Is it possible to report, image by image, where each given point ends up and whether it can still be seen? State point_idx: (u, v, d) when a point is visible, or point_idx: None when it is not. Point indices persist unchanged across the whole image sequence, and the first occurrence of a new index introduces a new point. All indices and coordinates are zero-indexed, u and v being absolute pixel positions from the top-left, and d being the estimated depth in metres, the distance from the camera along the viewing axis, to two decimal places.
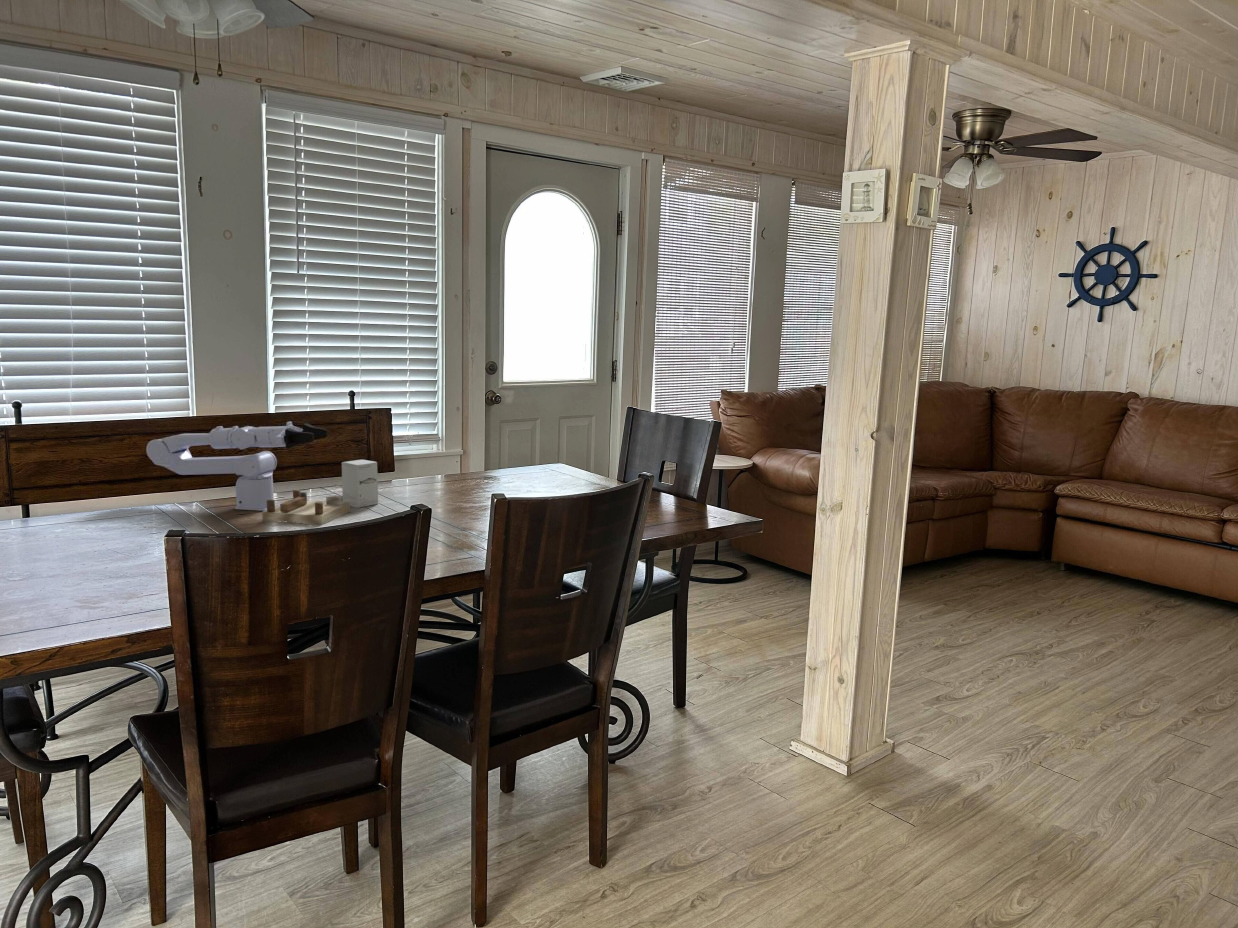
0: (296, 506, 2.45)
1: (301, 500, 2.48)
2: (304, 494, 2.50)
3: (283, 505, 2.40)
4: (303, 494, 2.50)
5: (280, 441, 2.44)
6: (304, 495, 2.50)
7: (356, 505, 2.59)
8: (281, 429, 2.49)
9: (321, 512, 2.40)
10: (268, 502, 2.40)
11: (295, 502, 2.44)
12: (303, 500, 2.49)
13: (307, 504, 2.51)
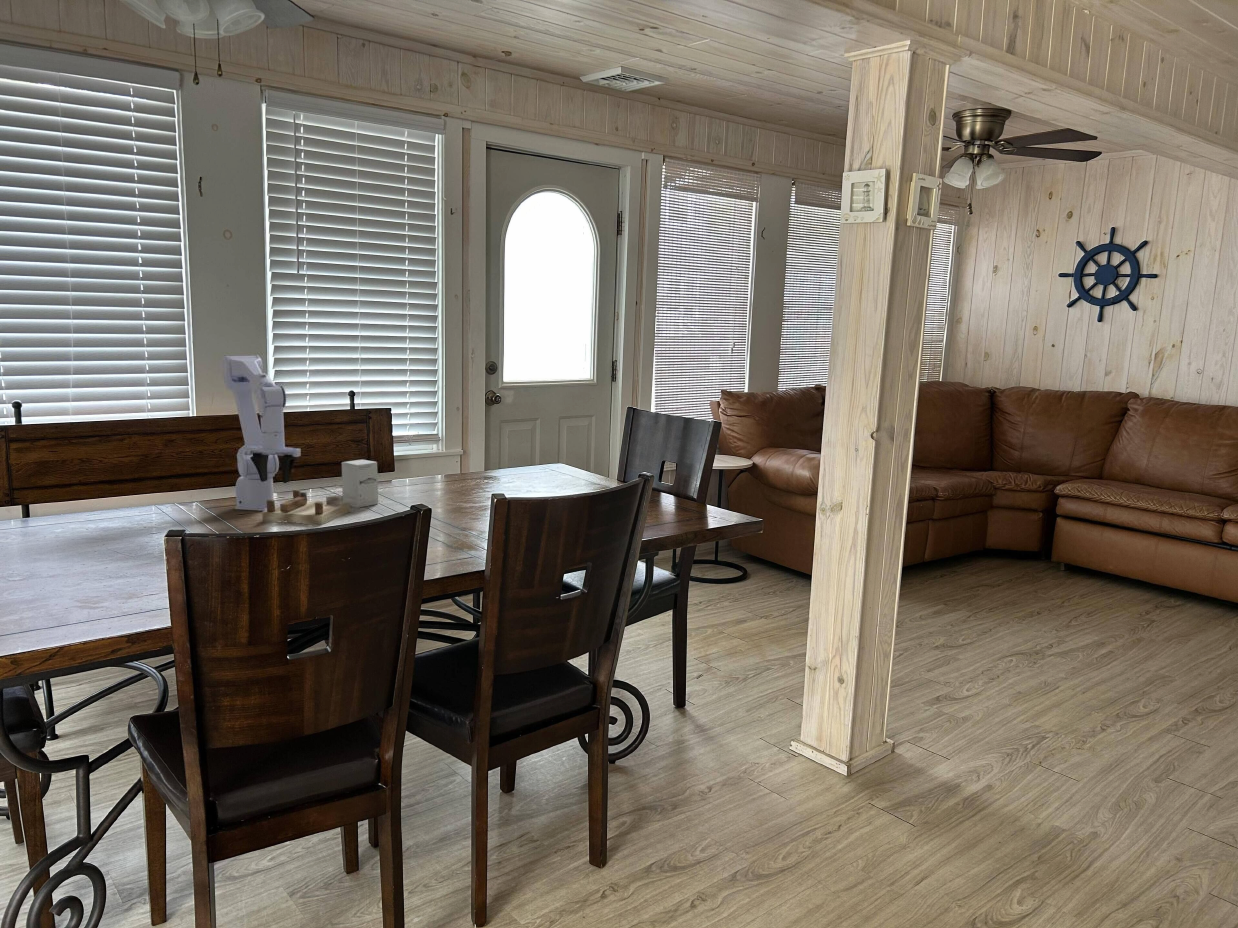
0: (296, 506, 2.45)
1: (301, 500, 2.48)
2: (304, 494, 2.50)
3: (283, 505, 2.40)
4: (303, 494, 2.50)
5: None
6: (304, 495, 2.50)
7: (356, 505, 2.59)
8: (262, 444, 2.40)
9: (321, 512, 2.40)
10: (268, 502, 2.40)
11: (295, 502, 2.44)
12: (303, 500, 2.49)
13: (307, 504, 2.51)
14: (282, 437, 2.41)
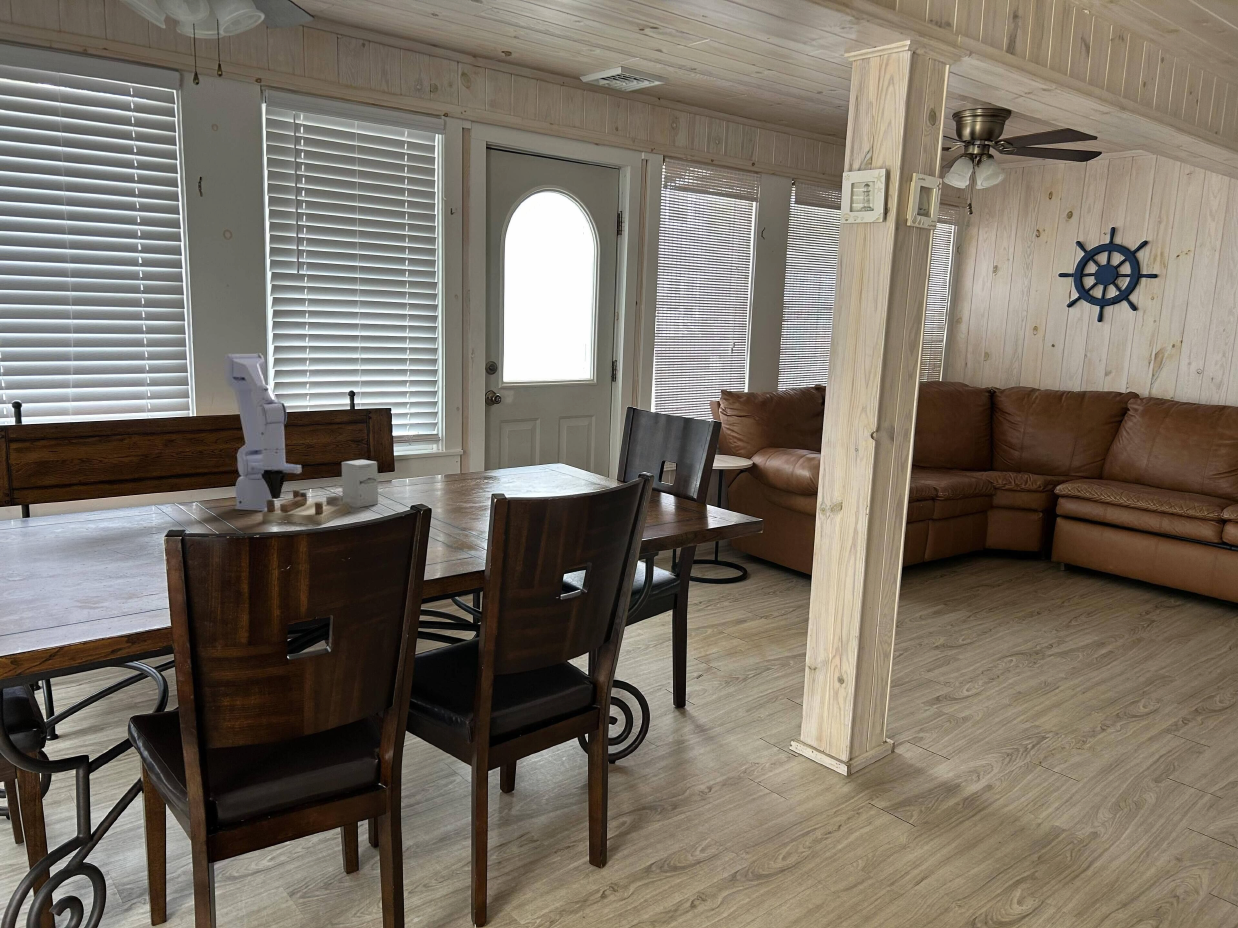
0: (296, 506, 2.45)
1: (301, 500, 2.48)
2: (304, 494, 2.50)
3: (283, 505, 2.40)
4: (303, 494, 2.50)
5: None
6: (304, 495, 2.50)
7: (356, 505, 2.59)
8: (263, 461, 2.41)
9: (321, 512, 2.40)
10: (268, 502, 2.40)
11: (295, 502, 2.44)
12: (303, 500, 2.49)
13: (307, 504, 2.51)
14: (283, 454, 2.42)
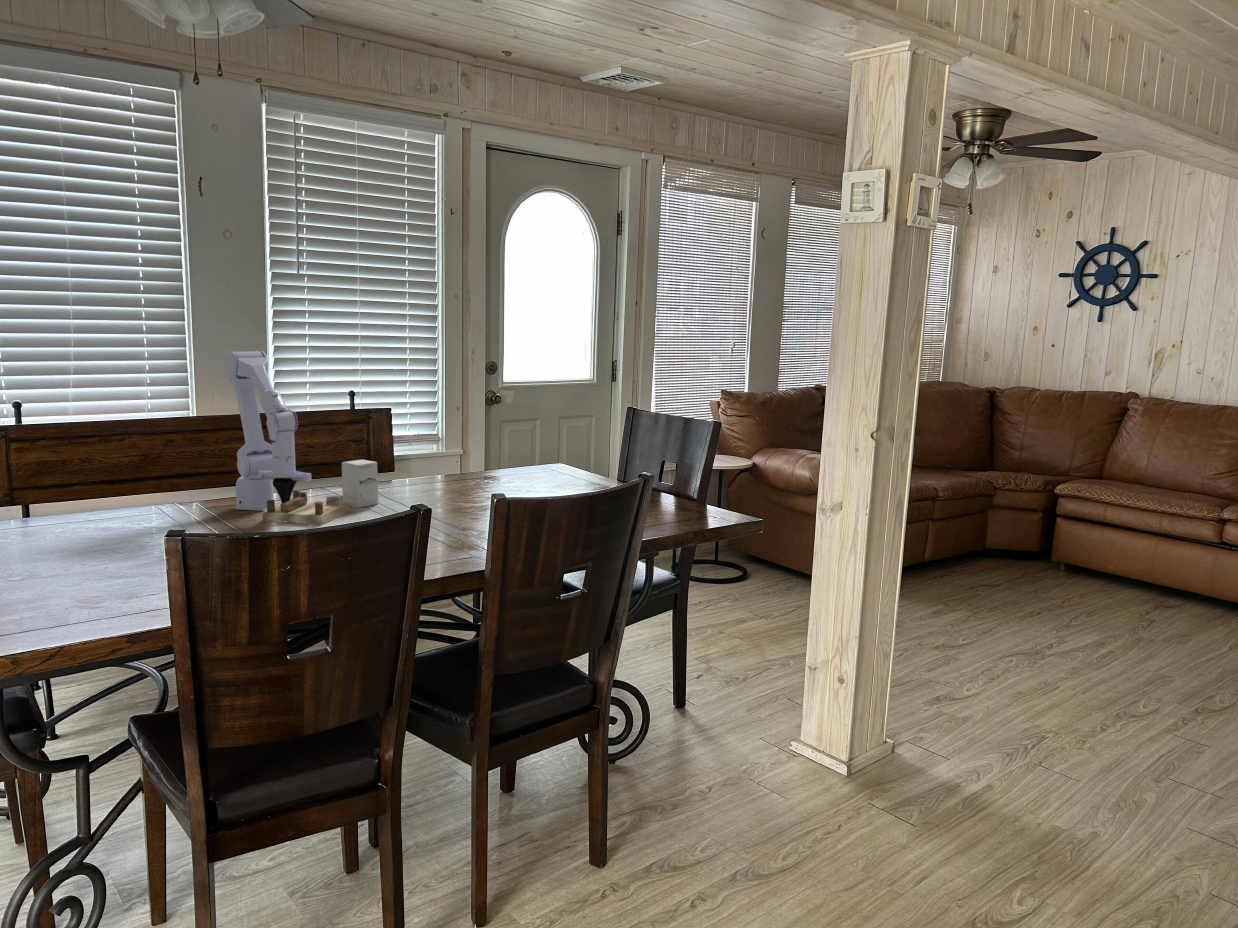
0: (296, 506, 2.45)
1: (301, 500, 2.48)
2: (304, 494, 2.50)
3: (283, 505, 2.40)
4: (303, 494, 2.50)
5: None
6: (304, 495, 2.50)
7: (356, 505, 2.59)
8: (273, 469, 2.41)
9: (321, 512, 2.40)
10: (268, 502, 2.40)
11: (295, 502, 2.44)
12: (303, 500, 2.49)
13: (307, 504, 2.51)
14: (293, 462, 2.42)
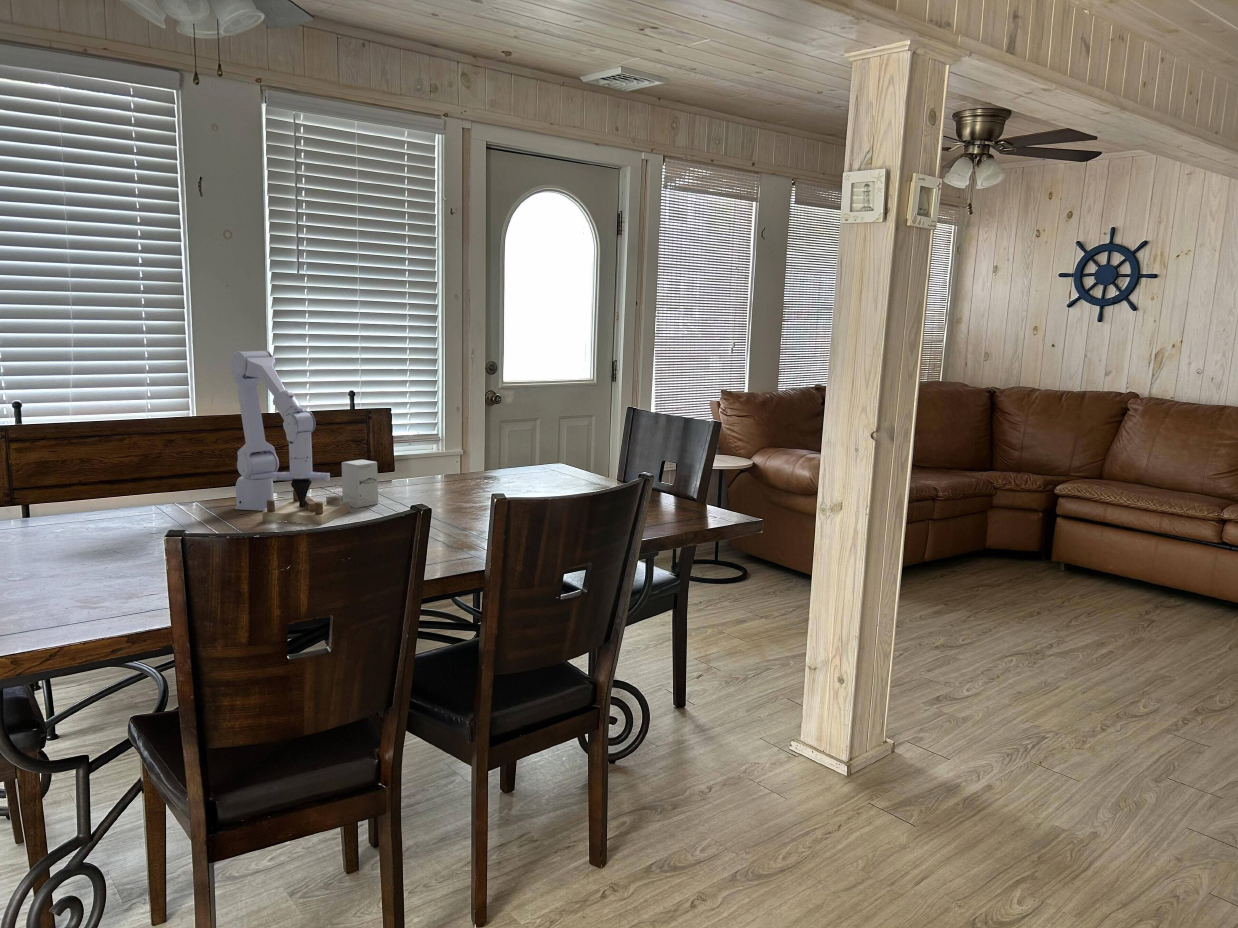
0: None
1: None
2: None
3: (313, 504, 2.42)
4: None
5: None
6: (306, 495, 2.50)
7: (356, 505, 2.59)
8: (291, 470, 2.40)
9: (321, 512, 2.40)
10: (268, 502, 2.40)
11: None
12: None
13: None
14: (311, 462, 2.42)
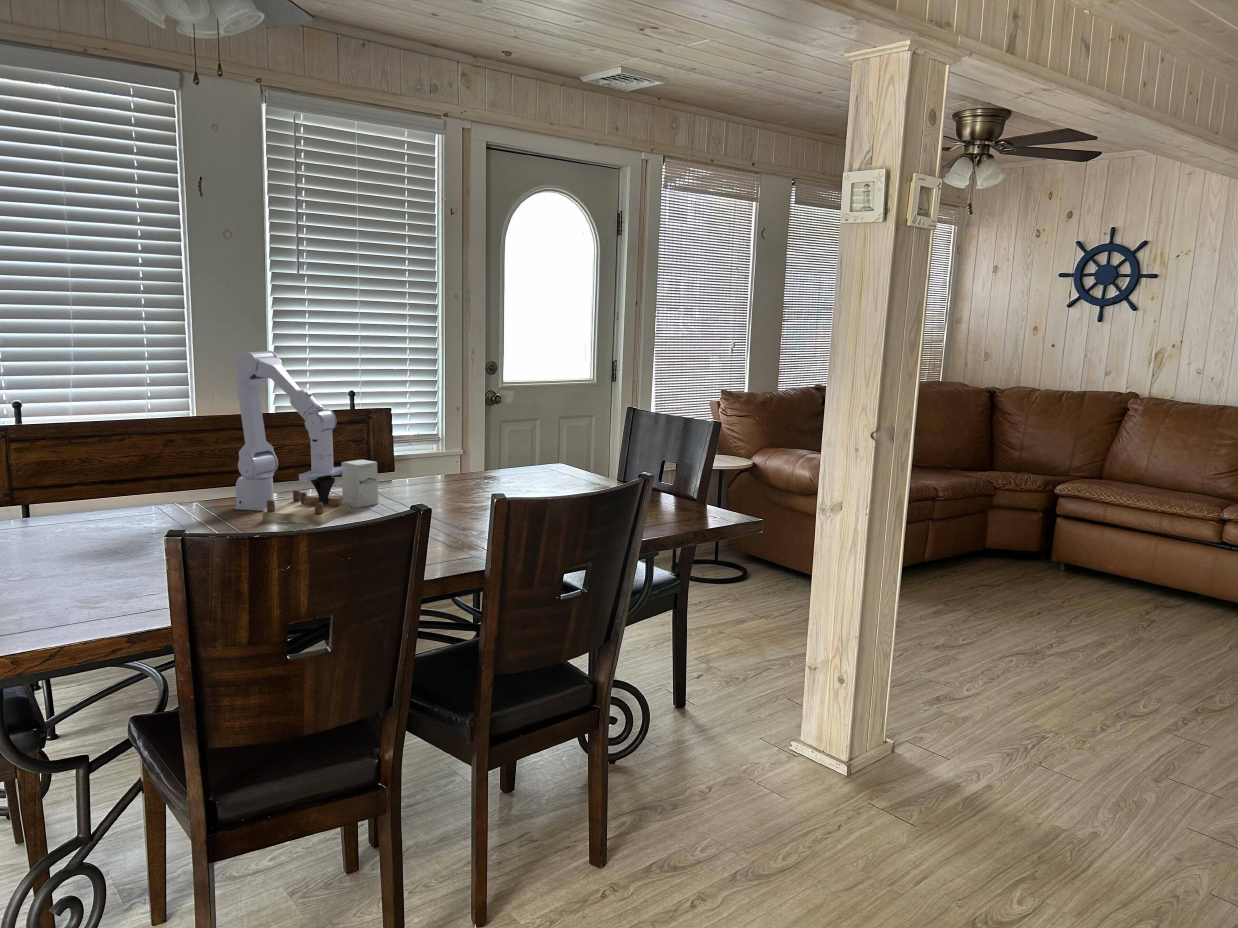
0: None
1: None
2: None
3: (339, 499, 2.49)
4: (306, 493, 2.51)
5: (300, 479, 2.41)
6: None
7: (356, 505, 2.59)
8: (323, 468, 2.44)
9: (321, 512, 2.40)
10: (268, 502, 2.40)
11: None
12: None
13: (307, 504, 2.51)
14: None
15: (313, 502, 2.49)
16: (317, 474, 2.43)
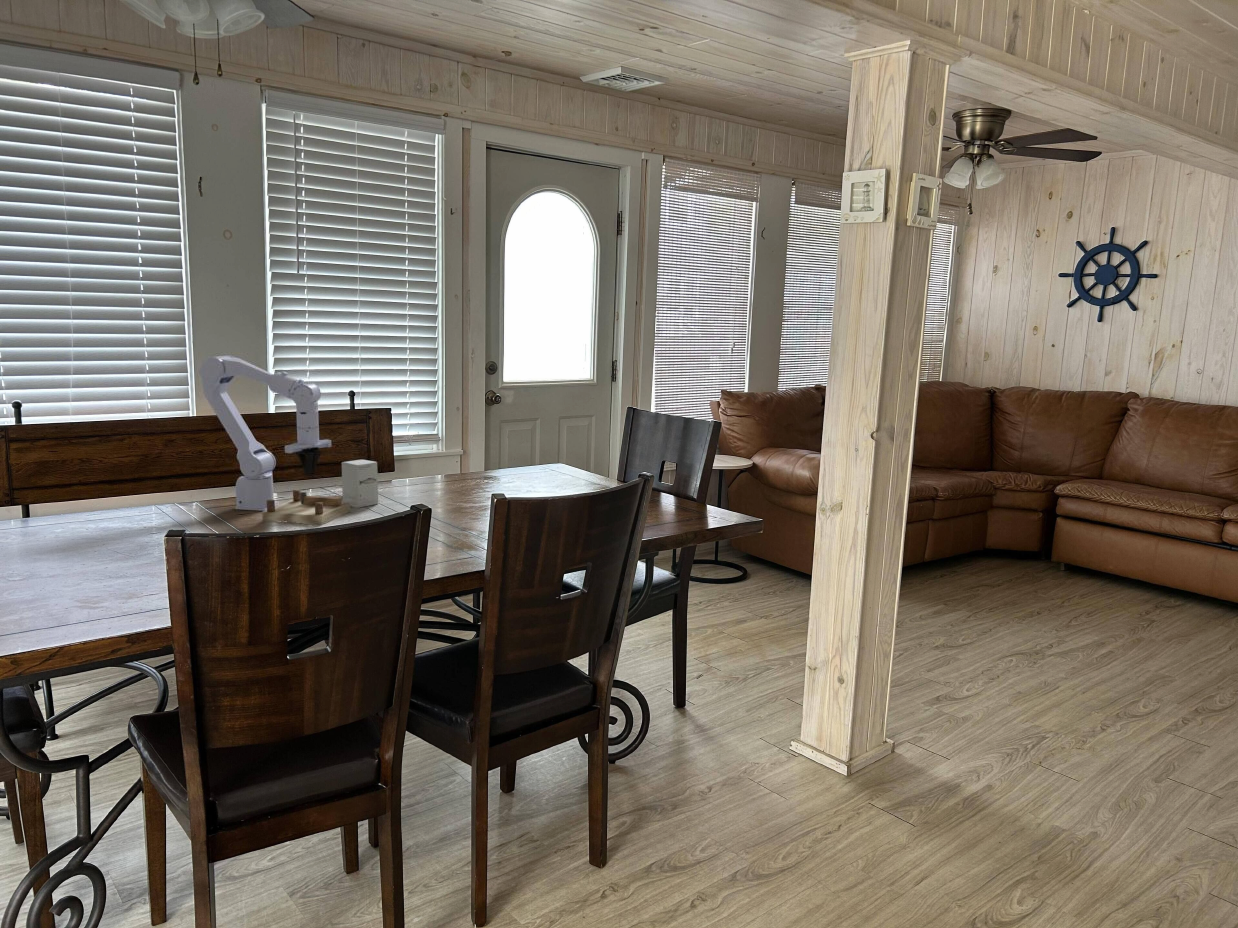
0: None
1: None
2: None
3: (339, 499, 2.49)
4: (306, 493, 2.51)
5: (286, 451, 2.47)
6: None
7: (356, 505, 2.59)
8: (308, 440, 2.50)
9: (321, 512, 2.40)
10: (268, 502, 2.40)
11: None
12: None
13: (307, 504, 2.51)
14: None
15: (313, 502, 2.49)
16: (302, 446, 2.48)
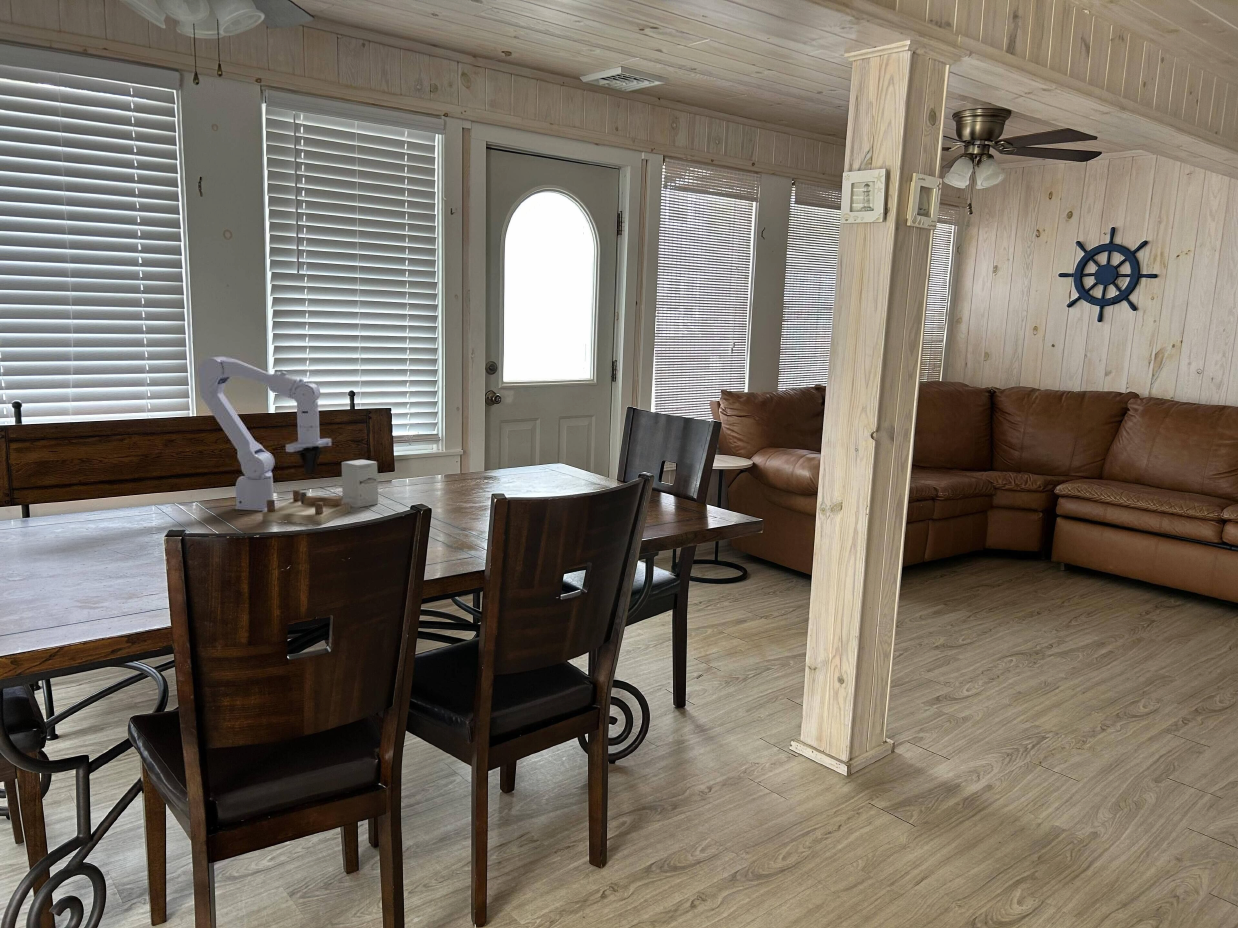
0: None
1: None
2: None
3: (339, 499, 2.49)
4: (306, 493, 2.51)
5: (287, 450, 2.48)
6: None
7: (356, 505, 2.59)
8: (309, 439, 2.51)
9: (321, 512, 2.40)
10: (268, 502, 2.40)
11: None
12: None
13: (307, 504, 2.51)
14: None
15: (313, 502, 2.49)
16: (303, 444, 2.50)
